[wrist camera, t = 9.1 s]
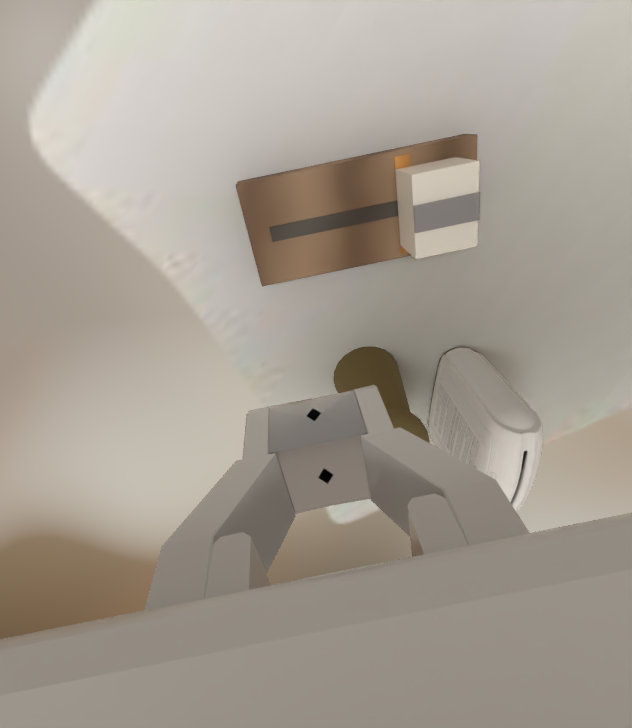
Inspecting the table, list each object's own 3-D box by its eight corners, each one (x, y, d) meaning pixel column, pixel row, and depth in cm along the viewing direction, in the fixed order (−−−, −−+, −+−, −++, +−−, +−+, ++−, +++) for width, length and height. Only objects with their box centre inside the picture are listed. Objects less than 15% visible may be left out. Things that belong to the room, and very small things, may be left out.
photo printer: (463, 432, 42) (529, 535, 31) (423, 435, 42) (476, 540, 31) (483, 344, 37) (570, 432, 26) (437, 347, 36) (507, 437, 26)
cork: (342, 342, 35) (369, 421, 26) (406, 351, 36) (455, 430, 27) (327, 398, 38) (346, 488, 29) (387, 405, 39) (425, 494, 30)
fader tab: (455, 156, 26) (481, 160, 23) (455, 234, 29) (478, 247, 26) (395, 169, 26) (412, 175, 23) (400, 245, 29) (416, 260, 26)
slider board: (464, 134, 28) (478, 134, 26) (463, 235, 31) (475, 242, 30) (237, 181, 28) (235, 185, 26) (262, 277, 31) (261, 286, 30)
